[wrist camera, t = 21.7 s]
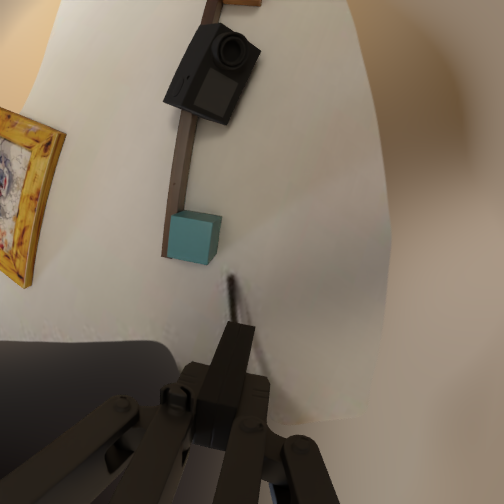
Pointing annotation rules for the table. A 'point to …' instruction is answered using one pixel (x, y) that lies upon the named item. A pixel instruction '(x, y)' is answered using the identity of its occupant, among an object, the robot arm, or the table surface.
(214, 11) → the rail
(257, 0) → the oak block
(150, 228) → the table surface
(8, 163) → the picture frame
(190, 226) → the teal block
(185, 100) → the digital camera
